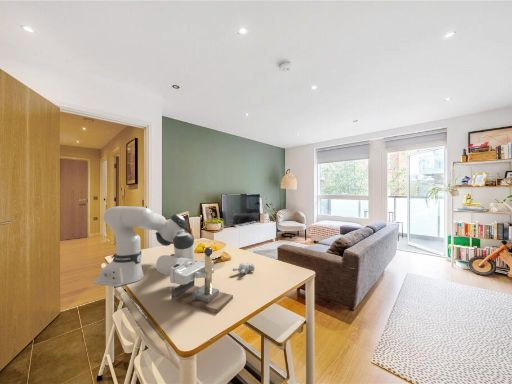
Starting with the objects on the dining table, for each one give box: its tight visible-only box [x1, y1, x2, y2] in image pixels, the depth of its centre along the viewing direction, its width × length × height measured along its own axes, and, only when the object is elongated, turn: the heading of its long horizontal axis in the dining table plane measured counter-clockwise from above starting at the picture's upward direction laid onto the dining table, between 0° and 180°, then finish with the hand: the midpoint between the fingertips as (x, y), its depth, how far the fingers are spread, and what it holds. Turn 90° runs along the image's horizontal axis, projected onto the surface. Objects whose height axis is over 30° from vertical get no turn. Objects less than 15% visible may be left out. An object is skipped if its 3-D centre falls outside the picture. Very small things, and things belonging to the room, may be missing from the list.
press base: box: [170, 279, 234, 314], centre depth 89 cm, size 24×12×4 cm, turn 67°
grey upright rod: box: [193, 246, 220, 302], centre depth 88 cm, size 7×10×21 cm
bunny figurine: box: [232, 262, 256, 275], centre depth 119 cm, size 10×5×15 cm
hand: (209, 273), depth 87 cm, fingers closed on grey upright rod, 3 cm apart
